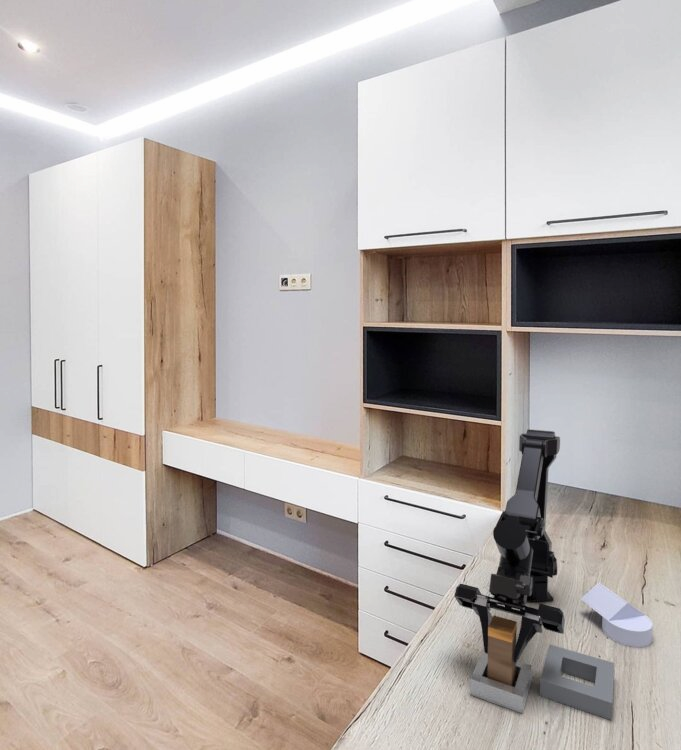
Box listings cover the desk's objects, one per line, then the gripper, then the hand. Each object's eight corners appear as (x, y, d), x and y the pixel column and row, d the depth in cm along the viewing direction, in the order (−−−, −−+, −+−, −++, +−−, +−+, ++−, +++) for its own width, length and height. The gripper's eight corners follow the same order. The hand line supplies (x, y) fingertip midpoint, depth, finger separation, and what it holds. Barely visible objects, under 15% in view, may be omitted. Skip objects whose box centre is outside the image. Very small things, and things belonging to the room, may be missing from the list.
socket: (549, 658, 96) (549, 644, 95) (613, 678, 90) (614, 663, 90) (539, 695, 86) (540, 679, 86) (611, 720, 81) (612, 703, 80)
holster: (483, 664, 94) (483, 649, 94) (531, 680, 90) (532, 665, 90) (470, 694, 87) (470, 678, 87) (522, 713, 82) (522, 696, 82)
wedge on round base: (580, 613, 111) (623, 650, 98) (580, 584, 110) (625, 618, 97) (615, 607, 112) (662, 643, 100) (616, 579, 112) (664, 612, 99)
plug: (492, 676, 91) (493, 615, 90) (515, 684, 89) (516, 621, 88) (487, 690, 88) (488, 627, 87) (510, 699, 86) (512, 634, 84)
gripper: (457, 543, 94) (438, 628, 86) (564, 565, 85) (554, 664, 76) (469, 564, 102) (452, 645, 93) (568, 587, 92) (559, 680, 84)
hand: (500, 657), depth 87 cm, fingers open, 5 cm apart
